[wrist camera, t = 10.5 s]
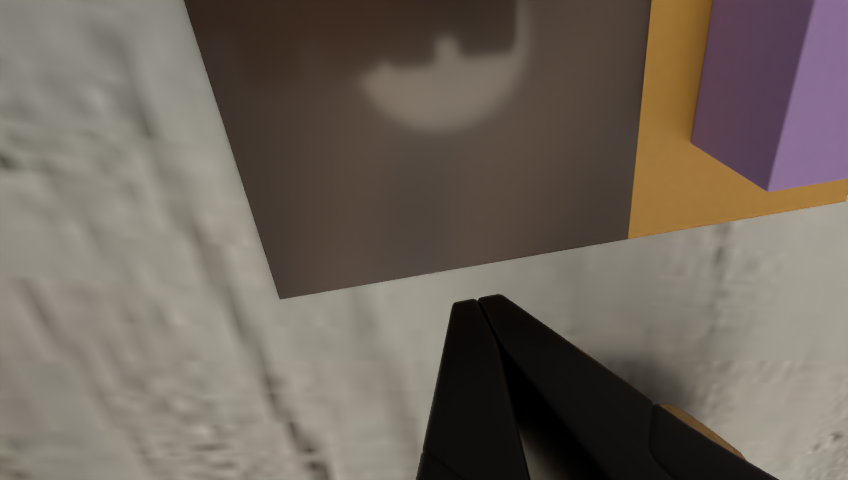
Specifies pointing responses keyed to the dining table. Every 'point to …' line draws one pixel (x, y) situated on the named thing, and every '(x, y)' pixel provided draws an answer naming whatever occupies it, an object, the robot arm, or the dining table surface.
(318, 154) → the board
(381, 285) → the dining table surface
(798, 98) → the block
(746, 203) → the pad
